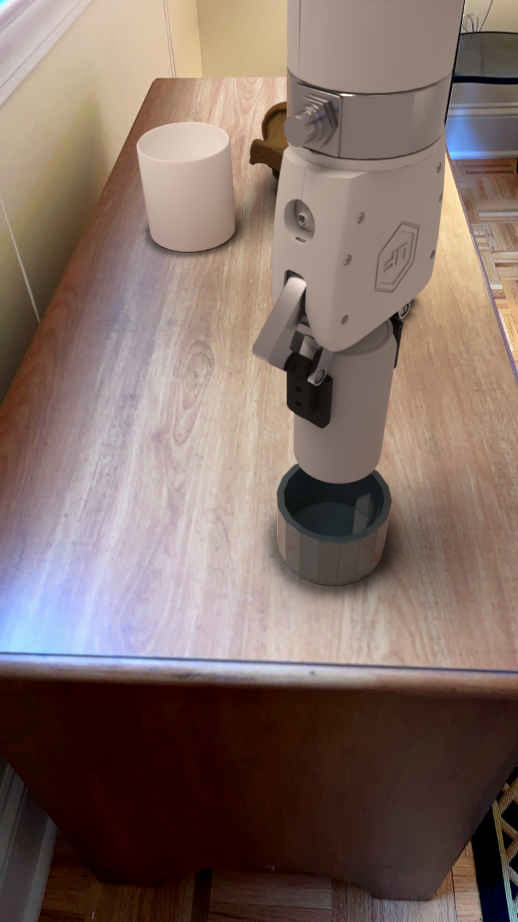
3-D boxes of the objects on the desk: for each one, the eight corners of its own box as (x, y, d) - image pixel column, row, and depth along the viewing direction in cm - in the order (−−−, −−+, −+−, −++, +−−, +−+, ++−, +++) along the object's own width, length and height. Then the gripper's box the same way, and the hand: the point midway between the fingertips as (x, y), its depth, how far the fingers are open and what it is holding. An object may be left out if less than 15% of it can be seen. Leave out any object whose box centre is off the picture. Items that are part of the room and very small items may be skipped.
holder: (374, 496, 62) (381, 451, 58) (391, 583, 56) (400, 540, 51) (274, 501, 62) (273, 456, 58) (281, 589, 56) (280, 546, 51)
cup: (239, 208, 98) (234, 121, 89) (231, 252, 90) (225, 162, 81) (157, 208, 99) (145, 121, 90) (143, 252, 91) (127, 162, 82)
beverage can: (275, 460, 51) (273, 329, 42) (330, 414, 54) (338, 283, 45) (343, 504, 48) (356, 373, 39) (397, 454, 51) (420, 321, 42)
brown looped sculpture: (186, 172, 90) (247, 83, 100) (226, 253, 99) (279, 163, 110) (313, 150, 80) (366, 54, 91) (345, 241, 89) (389, 144, 100)
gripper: (309, 199, 27) (301, 492, 40) (527, 72, 35) (460, 349, 48) (178, 146, 30) (211, 432, 44) (404, 42, 39) (374, 308, 52)
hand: (342, 386), depth 46 cm, fingers closed on beverage can, 6 cm apart
